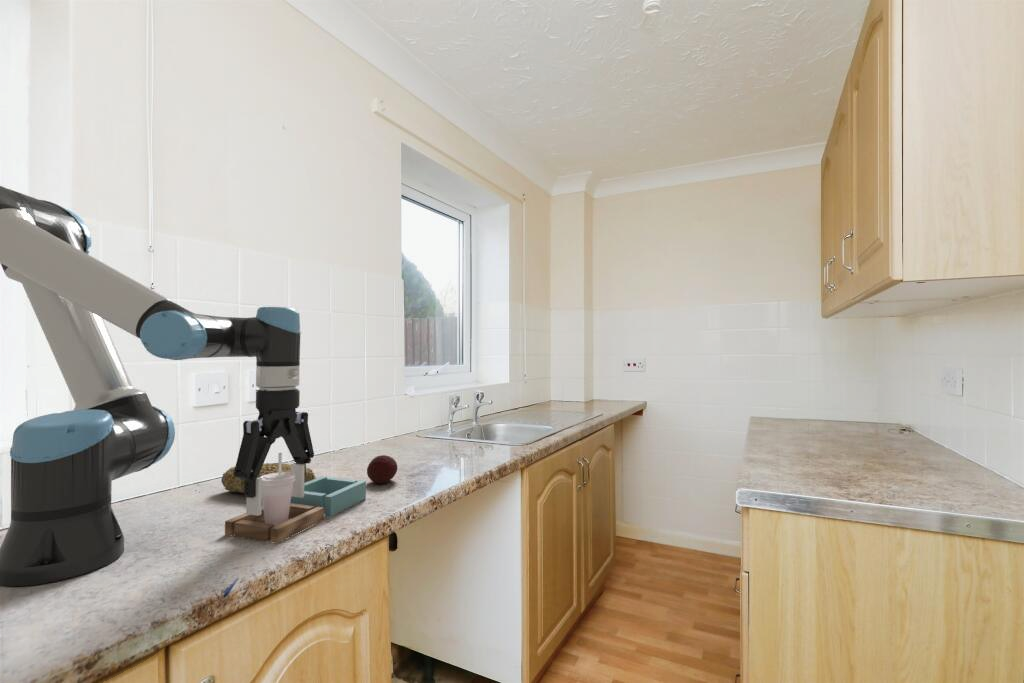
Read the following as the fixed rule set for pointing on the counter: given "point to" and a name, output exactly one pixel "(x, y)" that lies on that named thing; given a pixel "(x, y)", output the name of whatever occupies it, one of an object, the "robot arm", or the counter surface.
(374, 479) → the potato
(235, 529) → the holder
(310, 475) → the sponge
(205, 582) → the counter surface
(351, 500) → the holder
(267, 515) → the smoothie
